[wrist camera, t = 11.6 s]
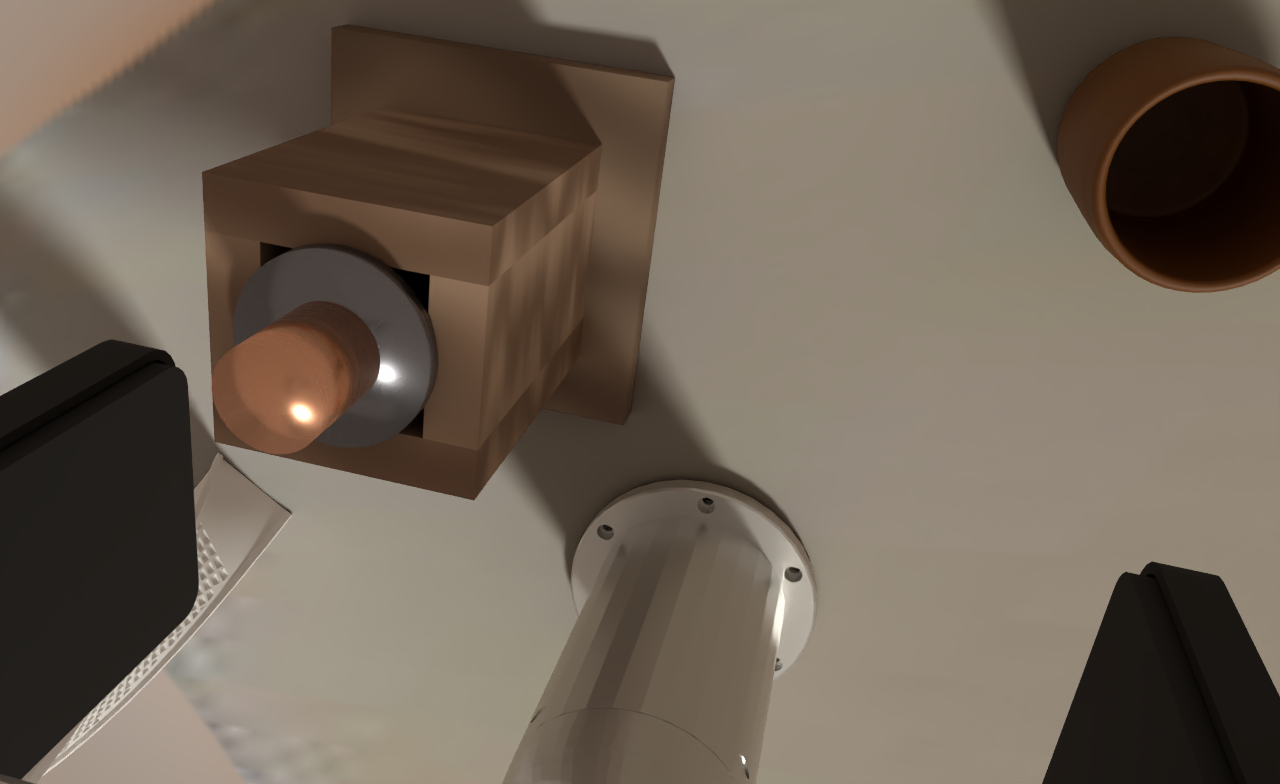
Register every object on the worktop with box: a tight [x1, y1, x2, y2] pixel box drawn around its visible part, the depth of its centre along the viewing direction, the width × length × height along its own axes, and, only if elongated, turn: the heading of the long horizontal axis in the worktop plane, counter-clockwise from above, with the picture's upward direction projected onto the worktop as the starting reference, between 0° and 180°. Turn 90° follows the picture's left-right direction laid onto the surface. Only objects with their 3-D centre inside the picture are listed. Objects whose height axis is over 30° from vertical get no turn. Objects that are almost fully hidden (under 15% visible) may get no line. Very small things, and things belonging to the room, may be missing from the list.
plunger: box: [212, 243, 438, 454], centre depth 41 cm, size 7×7×18 cm
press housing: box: [202, 25, 675, 500], centre depth 44 cm, size 16×15×16 cm
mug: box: [1057, 37, 1280, 293], centre depth 39 cm, size 12×8×9 cm, turn 62°
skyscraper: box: [21, 452, 292, 784], centre depth 48 cm, size 8×8×28 cm
